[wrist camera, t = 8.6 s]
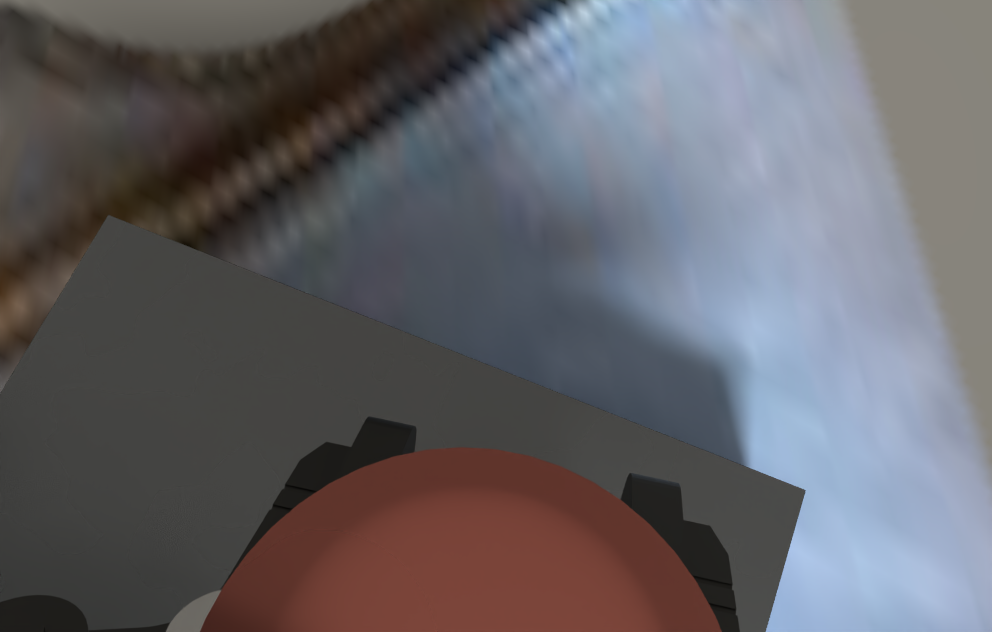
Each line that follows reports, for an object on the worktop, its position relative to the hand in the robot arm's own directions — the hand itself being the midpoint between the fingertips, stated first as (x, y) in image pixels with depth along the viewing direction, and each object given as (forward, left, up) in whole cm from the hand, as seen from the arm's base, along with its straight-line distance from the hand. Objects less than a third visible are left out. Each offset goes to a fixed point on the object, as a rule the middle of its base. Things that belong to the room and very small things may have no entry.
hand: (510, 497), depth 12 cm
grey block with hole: (-3, -2, -7) cm, 8 cm away
